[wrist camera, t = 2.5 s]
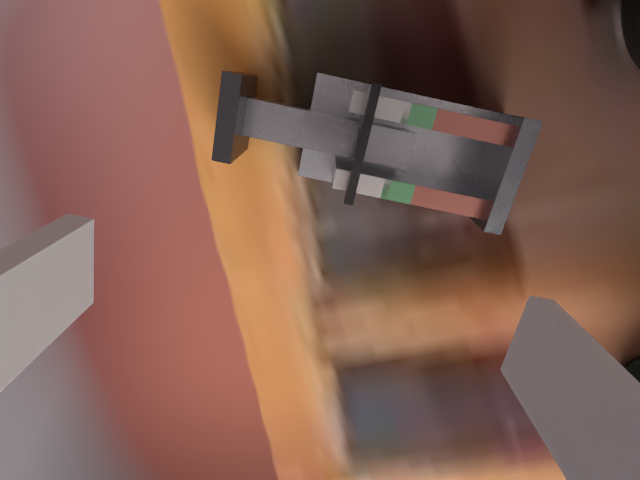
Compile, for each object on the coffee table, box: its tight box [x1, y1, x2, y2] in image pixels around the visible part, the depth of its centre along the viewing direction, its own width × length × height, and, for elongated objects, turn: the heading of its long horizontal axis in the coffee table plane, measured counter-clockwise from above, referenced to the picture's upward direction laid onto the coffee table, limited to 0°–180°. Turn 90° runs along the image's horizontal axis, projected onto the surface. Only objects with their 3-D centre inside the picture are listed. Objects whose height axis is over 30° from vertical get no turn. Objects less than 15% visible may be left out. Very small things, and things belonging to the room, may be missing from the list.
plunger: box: [212, 71, 417, 205], centre depth 36 cm, size 9×15×8 cm, turn 78°
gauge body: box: [298, 73, 543, 235], centre depth 36 cm, size 9×17×7 cm, turn 78°
